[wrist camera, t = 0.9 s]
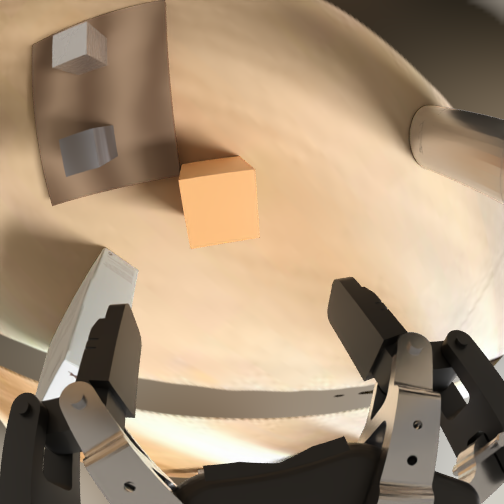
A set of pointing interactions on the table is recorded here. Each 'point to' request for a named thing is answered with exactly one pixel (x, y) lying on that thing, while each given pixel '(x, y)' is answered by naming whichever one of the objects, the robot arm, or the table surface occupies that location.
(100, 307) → the skincare box
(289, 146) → the table surface
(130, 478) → the robot arm
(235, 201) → the peach wooden cube
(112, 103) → the post board
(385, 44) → the table surface
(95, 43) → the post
